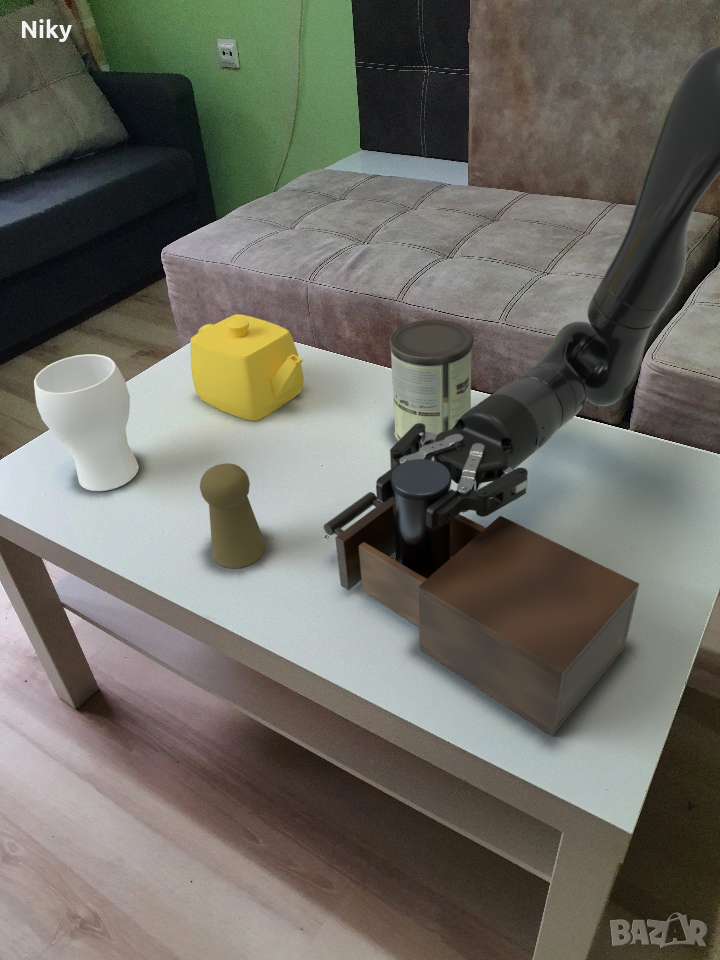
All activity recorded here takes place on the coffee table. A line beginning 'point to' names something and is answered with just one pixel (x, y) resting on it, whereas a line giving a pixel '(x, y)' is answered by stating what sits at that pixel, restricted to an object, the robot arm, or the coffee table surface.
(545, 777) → the coffee table surface
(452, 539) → the drawer
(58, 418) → the cup
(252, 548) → the pepper shaker
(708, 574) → the coffee table surface
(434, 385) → the coffee can
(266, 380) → the teapot
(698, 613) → the coffee table surface
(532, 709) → the cabinet
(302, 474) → the coffee table surface
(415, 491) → the slate tube
